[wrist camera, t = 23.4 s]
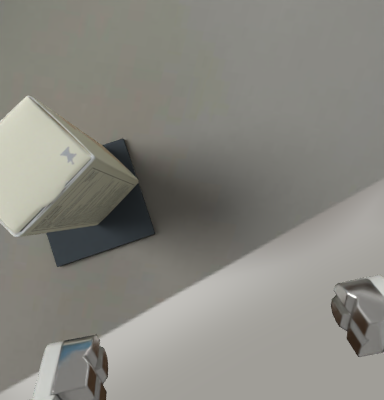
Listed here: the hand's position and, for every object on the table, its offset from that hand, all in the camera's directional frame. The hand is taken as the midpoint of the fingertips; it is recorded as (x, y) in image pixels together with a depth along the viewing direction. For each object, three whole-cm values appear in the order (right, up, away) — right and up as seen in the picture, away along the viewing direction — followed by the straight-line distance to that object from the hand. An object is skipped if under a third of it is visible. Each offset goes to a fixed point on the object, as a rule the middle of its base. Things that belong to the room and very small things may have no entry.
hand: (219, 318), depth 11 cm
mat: (-9, +4, +14) cm, 17 cm away
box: (-8, +5, +14) cm, 17 cm away
